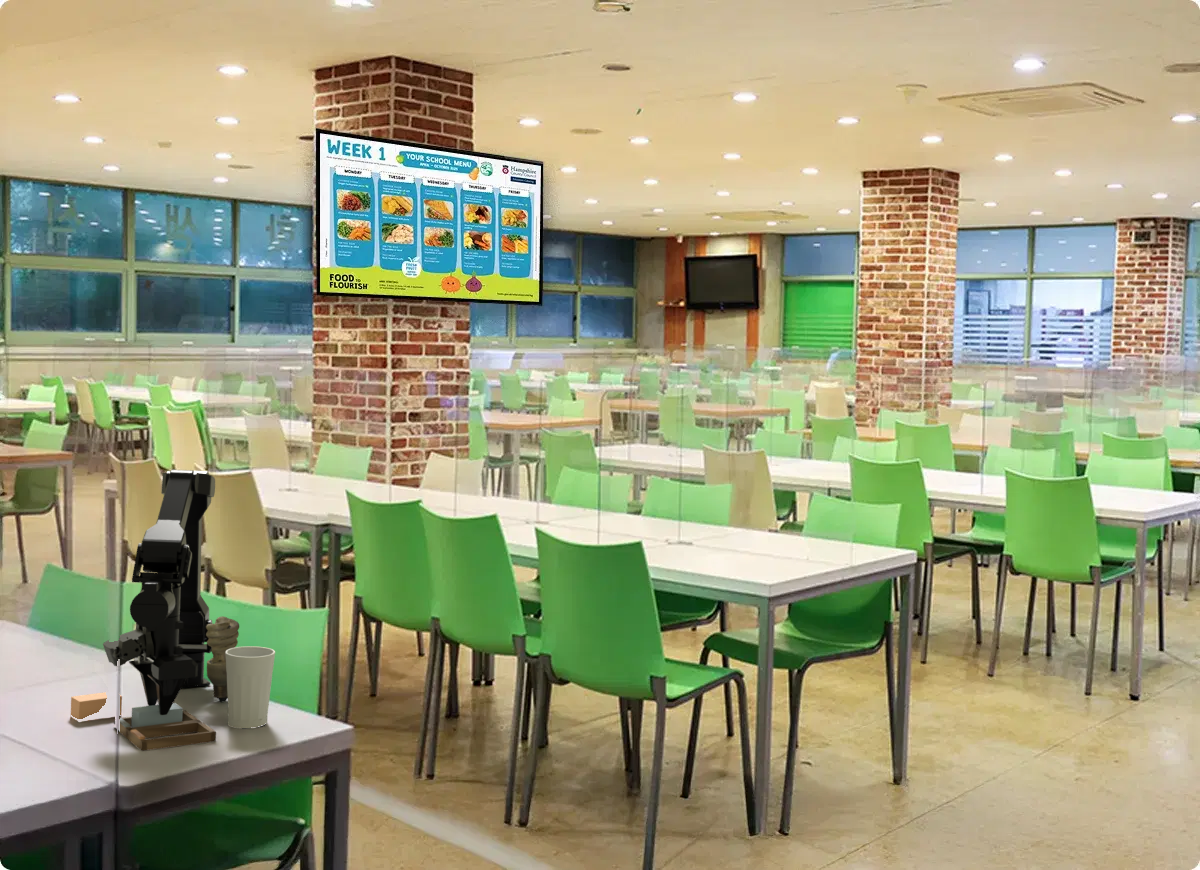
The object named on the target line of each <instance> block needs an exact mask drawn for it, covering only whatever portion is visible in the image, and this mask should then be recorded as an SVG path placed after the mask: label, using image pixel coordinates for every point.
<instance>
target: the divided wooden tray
mask: <svg viewBox="0 0 1200 870" xmlns="http://www.w3.org/2000/svg"><path fill="white" fill-rule="evenodd" d="M119 718H120V732H119V734H120V735H122V736H123V737H124V738H126V739H127V740H128V741H129V742H131V744H133V746H135V747H136V748H137V749H139V750H140V751H141V752H143V751H150V750H158V749H159V750H160V749H166V748H173V747H175V748H176V747H182V746H183V747H184V746H188V745H195V744H206V743H211V742H216V740H217V732H216V731H215V730H214V729H213V728H211V727H210V726H208V725H207V724H206V723H204V722H203V721H202V720H200V719H198V718H197V717H196V716H194V715H193V714H191V713H190V712H189V711H187V710H183V715H182V722H174V723H166V724H158V725H150V726H141V727H133V728H131V724H132V716H126V717H119Z"/></svg>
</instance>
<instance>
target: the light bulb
mask: <svg viewBox="0 0 1200 870" xmlns="http://www.w3.org/2000/svg"><path fill="white" fill-rule="evenodd" d="M206 628H207V630H208V631H207V633H206V636H207V637H208V638H209V639H208V641H207V642H206V644H208V645H209V646H211V647H212V650H211V651H212V652H211V654H212V657H211V658H210V659H208V660H207V661H206V676H207V680H208V681H209V682H210V684H212V687H213V689H212V690H213V699H218V701H219V702H220V703H224V702H227V701H228V693H227V671H226V654H225V652H226V650H228V649H231V648H236V647H238V642H239V641H238V637H239V636H240V635H239V630H240V624H239V622H238V621H237V620H235V619H233V618H229V617H226V616H222V615H221V616H219V617H217V618H216V619H215V622H214V623H213V624H207V626H206Z"/></svg>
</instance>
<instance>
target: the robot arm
mask: <svg viewBox="0 0 1200 870" xmlns="http://www.w3.org/2000/svg"><path fill="white" fill-rule="evenodd" d="M160 493H161V494H162V495H163V498H162V501H161V504H160V508H159V509H160V510H159V513H158V516H157V519H156V522H155V524H153V525H152V526H151V527H149V528H148V529H146V530H145V532H144V534H143V537H142V540H141V543H140V542H138V543H137V548H136V554H135V559H134V565H133V571H132V577H131V583H141V589H140V592H138V594H136V596H134V598H133V599H132V601H131V603H130V605H129V612H130V613H129V614H130V617H131V618H132V621H134V622H135V629H134V630H131V631H128V632H124V633H122V634H120V635H119V636H120V638H119V640H118V641H114V642H109V640H110V639H108V640H106V641H104V642H103V643H102V646H103V649H104V651H105V655H106V657H107V660H108V663H111V664H112V665H113V666H114V667H118V666H117V661H118V659H120V666H119V667H121V666H123V665H125V664H126V663H127V662H128V663H129V664H130V665H131V666H133V668H134V669H136V671H137V672H138V673H139V674H140V675H139V676H140V678H141V682H142V686H143V690H144V693H145V698H146V703H147V706H152V705H158V706H159V712H160V715H167V714H168V712H169V710H170V708H171V706H172V704H173V703H175V700H176V699H177V696H178V694H179V693H180V692H181V689H186V688H196V687H204V686H210V685H211V681H210V680H209V679H206V678H205V674H204V672H205V655H206V653H207V654H210V653H212V651H211V650H212V647H211V646H209V645H208V644H207V641H208V639H209V638H208V637H207V636H206V633H207V631H208V630H207V628H206V626H207V624H214V623H213V620H212V619H210V607H209V605H208V604H207V603H206V602H205V600H204V598H203V597H202V595H201V591H202V590H201V587H202V586H201V585H202V584H201V582H202V576H201V575H202V532H203V531H202V530H203V529H202V526H203V523H202V522H203V516H204V515H205V513H206V511H207V510H208V508H209V507H210V505H211V503H212V498H214V497H215V495H216V494H215V493H216V477H214V476H213V475H210V474H209V470H194V469H193V470H191V469H190V470H189V469H188V470H187V469H171V470H167V472H163V473H162V480H161V492H160ZM142 571H143V572H142ZM157 703H158V704H157Z"/></svg>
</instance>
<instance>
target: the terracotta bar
mask: <svg viewBox="0 0 1200 870" xmlns="http://www.w3.org/2000/svg"><path fill="white" fill-rule="evenodd" d="M106 692H107V691H105V692H99V693H98V692H97V693H90V694H81V695H74V696H71V698H70V716H71V715H72V716H73V717H75V718H77V719H83V718H85V717H87V716H89V715H92V714H94V713H97V712H99V710H100V709H101V708H102V706H104V705H105V703H106V699H107V695H106ZM119 695H120V715H121V716H122V710H123V709H122V706H123V705H122V704H123V696H122V695H121V694H119Z"/></svg>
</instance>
